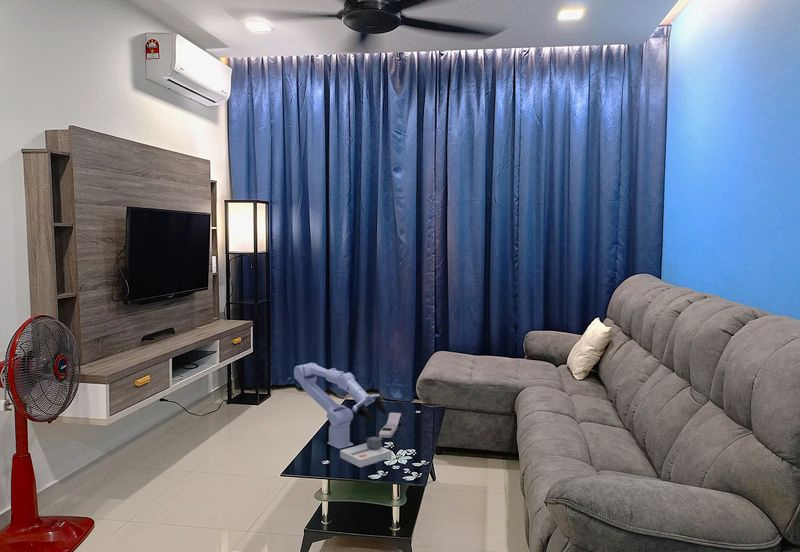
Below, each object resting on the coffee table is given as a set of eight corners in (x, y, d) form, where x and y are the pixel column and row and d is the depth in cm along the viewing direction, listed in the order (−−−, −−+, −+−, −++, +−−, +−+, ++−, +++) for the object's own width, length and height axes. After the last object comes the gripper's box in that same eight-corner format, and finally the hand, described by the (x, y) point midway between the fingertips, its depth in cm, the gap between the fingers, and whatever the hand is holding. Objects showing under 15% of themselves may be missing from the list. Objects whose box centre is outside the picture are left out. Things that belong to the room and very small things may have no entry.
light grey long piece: (401, 412, 285) (389, 428, 260) (401, 424, 285) (389, 441, 260) (389, 412, 286) (376, 427, 261) (389, 423, 286) (376, 440, 262)
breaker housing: (370, 448, 250) (370, 441, 250) (391, 457, 240) (391, 450, 240) (339, 457, 240) (339, 449, 240) (360, 467, 229) (360, 459, 229)
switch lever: (374, 444, 246) (374, 436, 246) (381, 447, 242) (381, 439, 242) (366, 446, 243) (366, 438, 243) (374, 449, 239) (374, 441, 239)
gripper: (348, 394, 240) (369, 416, 234) (373, 382, 250) (394, 403, 244) (344, 405, 244) (364, 427, 237) (369, 393, 254) (389, 414, 248)
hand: (379, 416), depth 241 cm, fingers open, 7 cm apart
